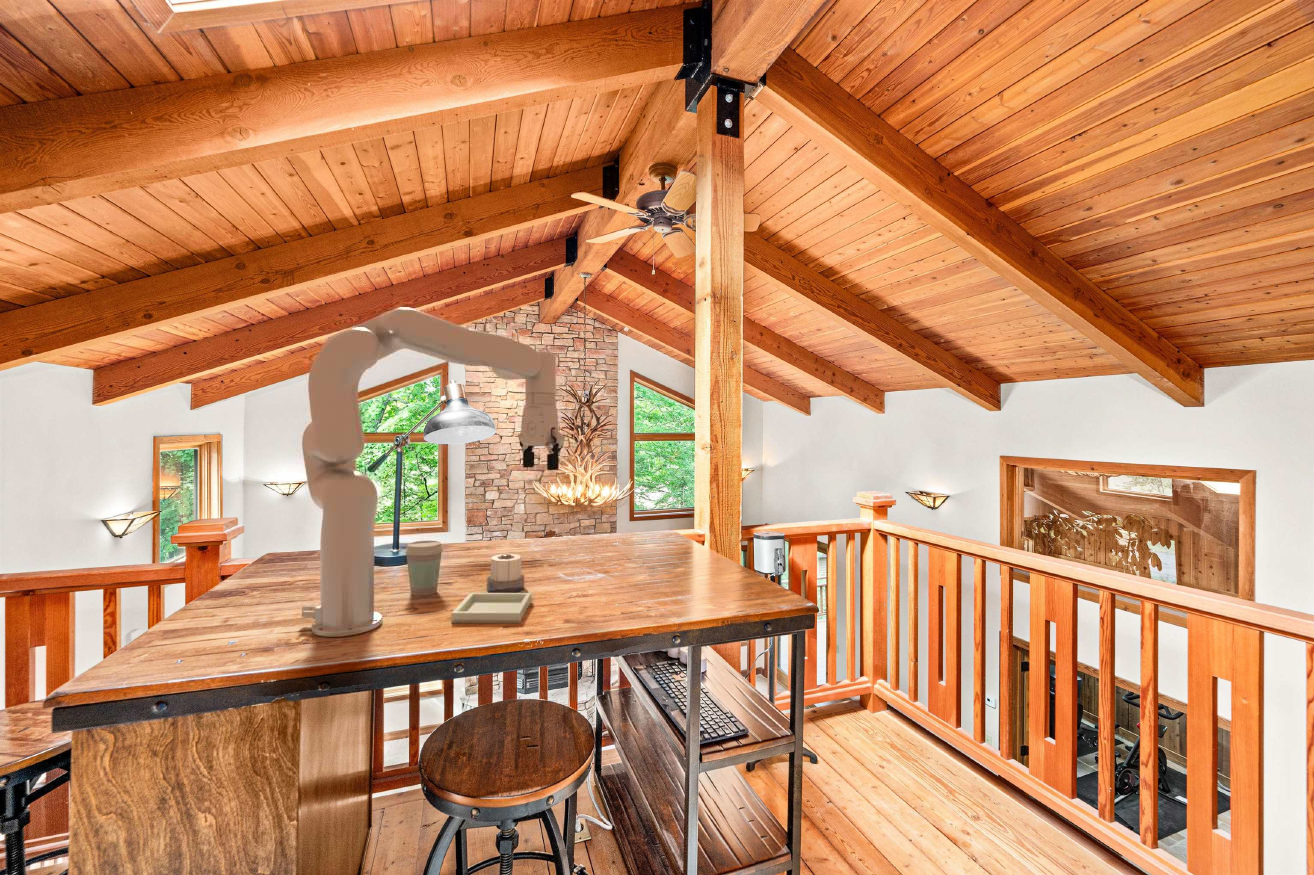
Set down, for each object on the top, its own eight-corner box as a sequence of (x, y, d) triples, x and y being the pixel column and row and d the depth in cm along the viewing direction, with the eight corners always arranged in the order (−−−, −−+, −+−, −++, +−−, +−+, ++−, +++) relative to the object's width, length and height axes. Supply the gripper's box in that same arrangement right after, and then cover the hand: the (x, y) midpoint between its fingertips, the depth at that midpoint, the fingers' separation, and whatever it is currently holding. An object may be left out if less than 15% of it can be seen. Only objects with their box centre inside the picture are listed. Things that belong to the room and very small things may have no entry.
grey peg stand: (482, 594, 139) (483, 559, 139) (491, 584, 148) (492, 551, 148) (520, 594, 139) (520, 559, 139) (527, 584, 148) (527, 551, 148)
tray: (451, 622, 119) (451, 612, 119) (470, 601, 133) (470, 592, 133) (519, 623, 120) (519, 613, 120) (531, 601, 134) (531, 592, 134)
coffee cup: (448, 588, 144) (449, 540, 143) (432, 598, 135) (432, 548, 135) (416, 586, 144) (416, 539, 144) (397, 597, 136) (397, 546, 136)
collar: (488, 581, 140) (488, 560, 140) (495, 573, 147) (495, 554, 147) (517, 581, 140) (517, 560, 140) (522, 573, 147) (522, 554, 147)
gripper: (507, 400, 148) (507, 467, 149) (550, 400, 137) (550, 471, 137) (531, 401, 154) (531, 465, 154) (574, 401, 143) (574, 469, 143)
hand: (540, 468), depth 146 cm, fingers open, 9 cm apart
